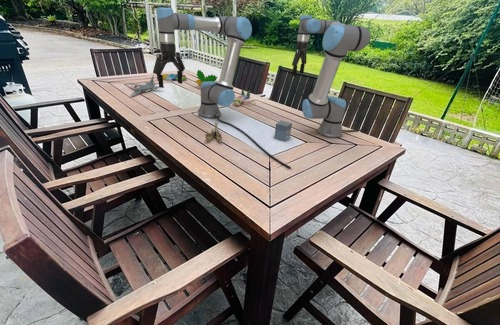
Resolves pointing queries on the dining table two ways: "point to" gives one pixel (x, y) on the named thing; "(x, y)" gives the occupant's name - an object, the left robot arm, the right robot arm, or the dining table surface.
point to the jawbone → (214, 134)
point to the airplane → (145, 87)
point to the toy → (242, 99)
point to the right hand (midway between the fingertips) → (297, 74)
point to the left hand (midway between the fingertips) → (171, 85)
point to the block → (283, 130)
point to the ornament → (203, 79)
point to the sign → (172, 77)
